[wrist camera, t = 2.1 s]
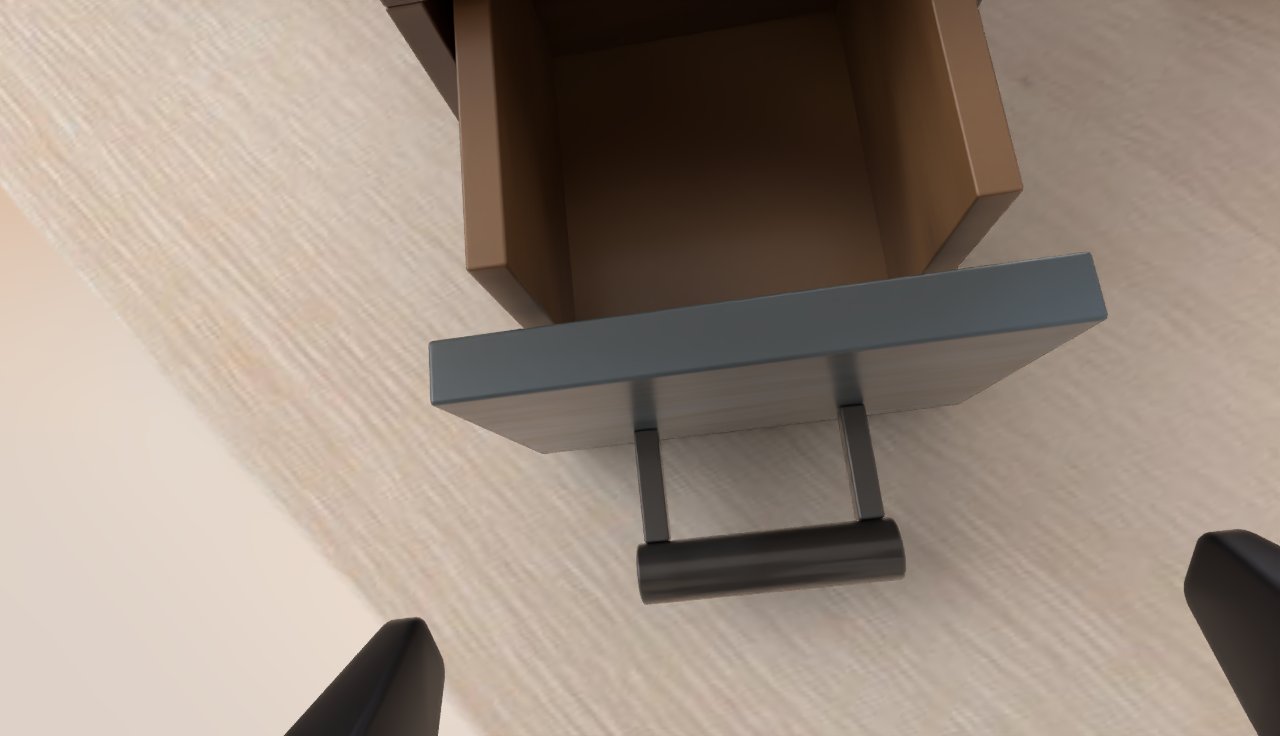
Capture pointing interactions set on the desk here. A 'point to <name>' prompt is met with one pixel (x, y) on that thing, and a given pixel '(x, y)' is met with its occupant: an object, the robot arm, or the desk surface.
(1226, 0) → the desk surface
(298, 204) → the desk surface
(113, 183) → the desk surface
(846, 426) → the drawer
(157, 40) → the desk surface
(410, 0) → the cabinet
